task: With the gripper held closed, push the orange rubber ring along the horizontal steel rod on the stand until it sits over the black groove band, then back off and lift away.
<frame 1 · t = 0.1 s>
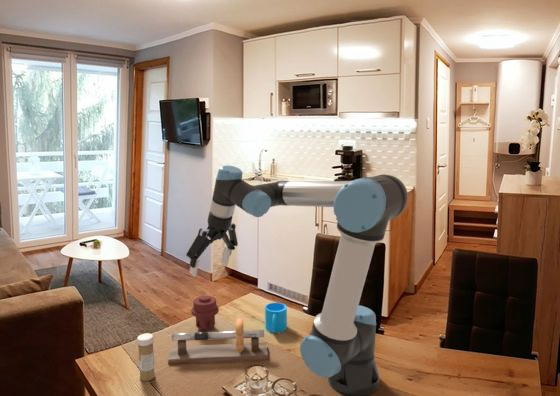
hand: (208, 269, 145), 28 cm above the table, tool tilted 20°, fingers open, 13 cm apart
rod: (218, 335, 143), on the stand, point 6 cm above the table
mug: (275, 330, 162), on the table
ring: (239, 334, 144), point 7 cm above the table, slide at 0.0 cm
stand: (219, 354, 144), on the table
mechanical component: (205, 329, 163), on the table
sprinkles bottle: (147, 377, 132), on the table
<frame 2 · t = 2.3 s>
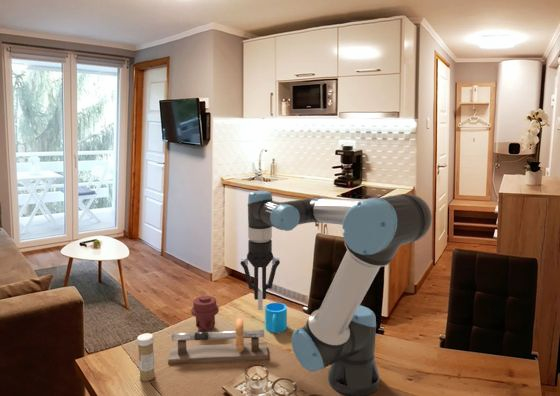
hand: (260, 308, 143), 16 cm above the table, tool pointing down, fingers closed
nothing on the table moved.
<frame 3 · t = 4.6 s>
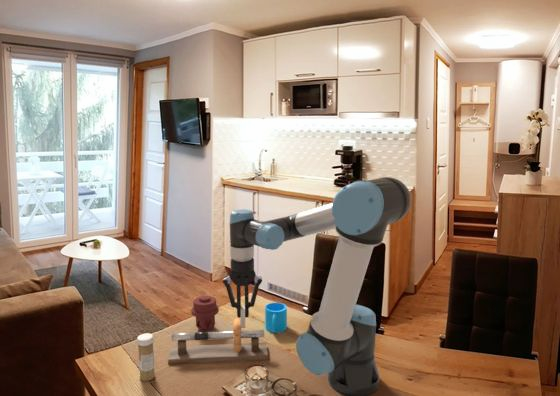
hand: (243, 325, 143), 10 cm above the table, tool pointing down, fingers closed
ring: (237, 334, 144), point 7 cm above the table, slide at 0.8 cm, touching gripper
everything else where it was.
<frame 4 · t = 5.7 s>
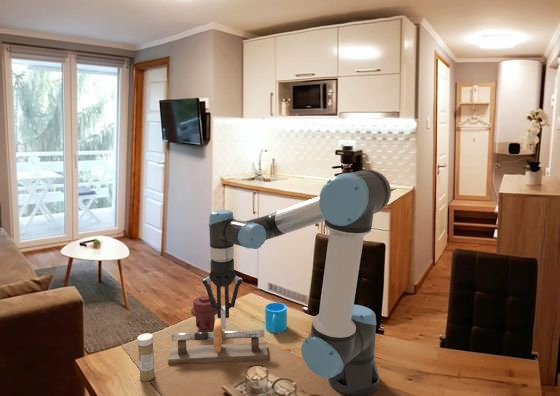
hand: (223, 326, 143), 10 cm above the table, tool pointing down, fingers closed
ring: (217, 335, 143), point 7 cm above the table, slide at 7.2 cm, touching gripper
everything else where it was.
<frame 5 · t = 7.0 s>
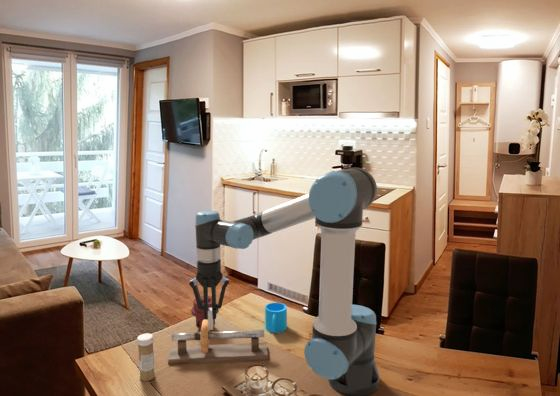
hand: (210, 327, 142), 10 cm above the table, tool pointing down, fingers closed
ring: (205, 335, 143), point 7 cm above the table, slide at 11.4 cm, touching gripper
everything else where it was.
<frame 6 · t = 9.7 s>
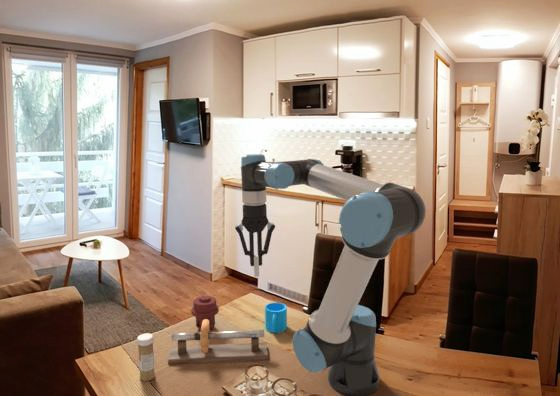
hand: (256, 275, 140), 28 cm above the table, tool pointing down, fingers closed
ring: (205, 335, 143), point 7 cm above the table, slide at 11.4 cm
everything else where it was.
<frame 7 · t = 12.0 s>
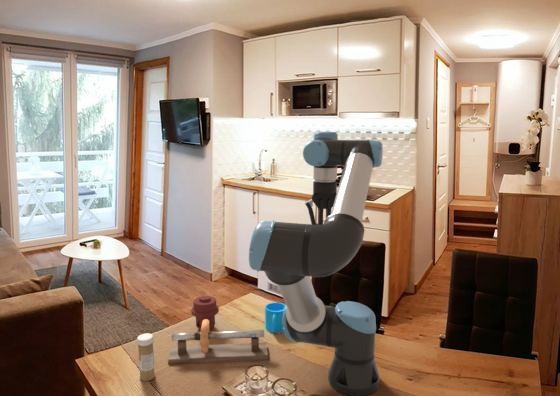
hand: (323, 251, 143), 34 cm above the table, tool pointing down, fingers closed
nothing on the table moved.
at the end: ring slide at 11.4 cm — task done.
